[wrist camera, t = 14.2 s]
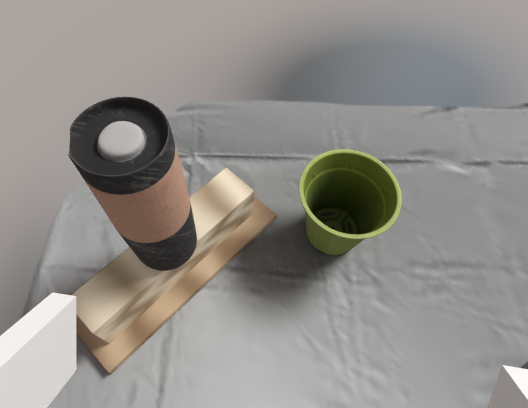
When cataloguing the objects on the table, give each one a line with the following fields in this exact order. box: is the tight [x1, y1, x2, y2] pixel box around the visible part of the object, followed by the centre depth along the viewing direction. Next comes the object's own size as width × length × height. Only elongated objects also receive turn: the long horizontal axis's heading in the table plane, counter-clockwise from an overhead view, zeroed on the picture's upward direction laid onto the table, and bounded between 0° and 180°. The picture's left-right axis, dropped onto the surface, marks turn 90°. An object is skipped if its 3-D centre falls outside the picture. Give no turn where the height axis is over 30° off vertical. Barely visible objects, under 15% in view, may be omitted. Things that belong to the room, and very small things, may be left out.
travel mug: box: [69, 97, 197, 271], centre depth 39 cm, size 8×8×20 cm
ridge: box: [71, 168, 277, 374], centre depth 50 cm, size 28×10×7 cm, turn 136°
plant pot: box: [299, 149, 402, 255], centre depth 52 cm, size 12×12×11 cm
